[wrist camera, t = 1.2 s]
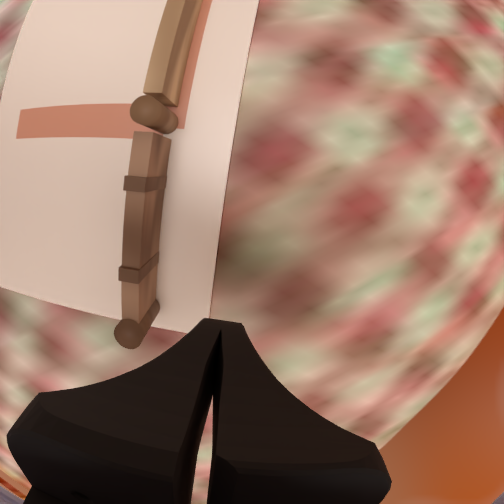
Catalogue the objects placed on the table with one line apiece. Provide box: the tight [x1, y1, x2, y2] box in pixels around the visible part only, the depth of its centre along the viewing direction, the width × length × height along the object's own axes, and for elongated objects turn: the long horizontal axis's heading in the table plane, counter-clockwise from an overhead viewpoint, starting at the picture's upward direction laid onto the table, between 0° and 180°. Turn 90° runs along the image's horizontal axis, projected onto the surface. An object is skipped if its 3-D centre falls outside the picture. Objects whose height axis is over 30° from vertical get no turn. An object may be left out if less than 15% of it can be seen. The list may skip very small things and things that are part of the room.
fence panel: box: [114, 131, 171, 349], centre depth 16 cm, size 11×2×4 cm, turn 171°
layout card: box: [0, 0, 259, 333], centre depth 16 cm, size 19×26×1 cm
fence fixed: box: [130, 0, 203, 134], centre depth 13 cm, size 2×13×4 cm, turn 171°
